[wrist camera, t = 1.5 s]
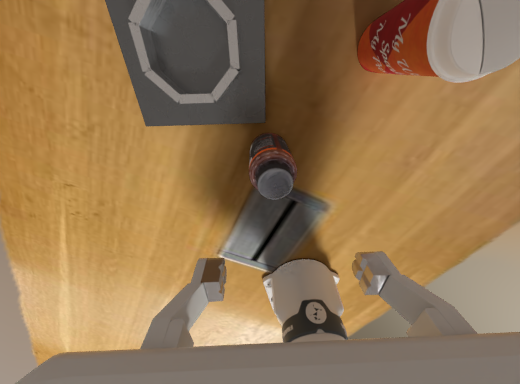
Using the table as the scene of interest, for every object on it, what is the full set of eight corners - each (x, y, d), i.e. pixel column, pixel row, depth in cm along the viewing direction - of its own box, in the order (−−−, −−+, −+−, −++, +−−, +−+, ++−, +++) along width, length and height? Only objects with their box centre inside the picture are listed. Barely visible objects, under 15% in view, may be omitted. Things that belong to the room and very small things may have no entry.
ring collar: (265, 121, 28) (266, 126, 25) (149, 124, 27) (136, 130, 24) (263, -56, 19) (264, -82, 16) (93, -52, 19) (62, -78, 16)
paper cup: (336, 50, 23) (421, 19, 11) (391, -17, 21) (585, -153, 9) (371, 95, 26) (469, 108, 14) (424, 41, 23) (606, 1, 11)
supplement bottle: (242, 153, 30) (236, 188, 20) (266, 123, 28) (272, 146, 18) (270, 174, 32) (276, 215, 22) (294, 148, 30) (314, 181, 20)
